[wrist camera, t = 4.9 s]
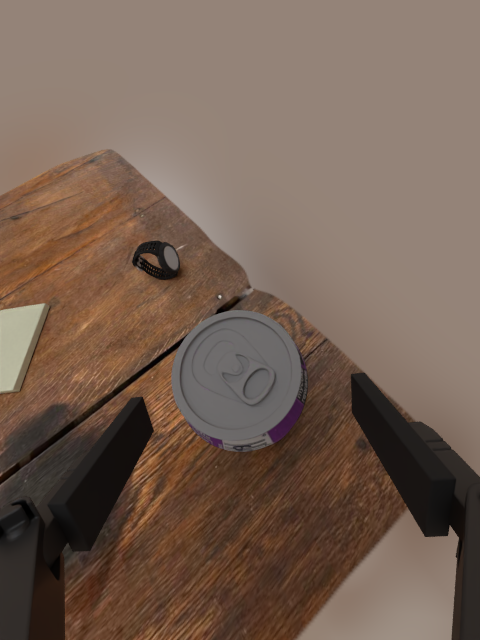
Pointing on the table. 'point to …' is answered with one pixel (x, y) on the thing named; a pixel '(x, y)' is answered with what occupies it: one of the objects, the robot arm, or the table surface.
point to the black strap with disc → (165, 258)
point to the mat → (18, 343)
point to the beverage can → (239, 381)
